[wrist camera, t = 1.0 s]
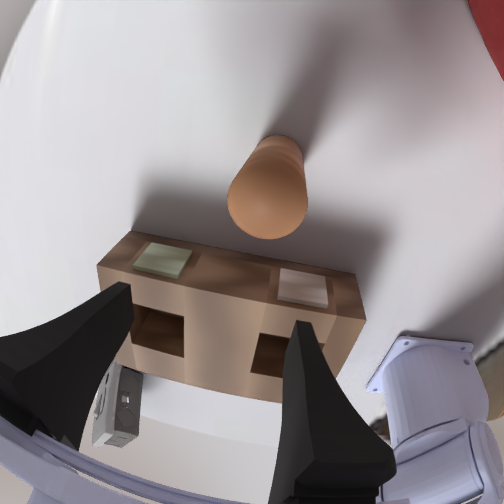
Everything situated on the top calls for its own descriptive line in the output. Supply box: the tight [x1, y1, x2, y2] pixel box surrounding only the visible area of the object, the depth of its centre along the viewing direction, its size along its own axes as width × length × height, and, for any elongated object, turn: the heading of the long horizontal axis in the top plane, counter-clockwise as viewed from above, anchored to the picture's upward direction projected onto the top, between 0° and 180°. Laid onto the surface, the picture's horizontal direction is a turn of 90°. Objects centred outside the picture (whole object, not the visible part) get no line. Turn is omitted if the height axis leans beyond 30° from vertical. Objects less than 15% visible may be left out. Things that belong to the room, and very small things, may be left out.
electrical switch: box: [92, 358, 143, 448], centre depth 29 cm, size 9×5×9 cm, turn 144°
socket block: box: [97, 231, 366, 403], centre depth 22 cm, size 17×10×5 cm, turn 82°
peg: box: [227, 135, 308, 239], centre depth 15 cm, size 3×3×8 cm
